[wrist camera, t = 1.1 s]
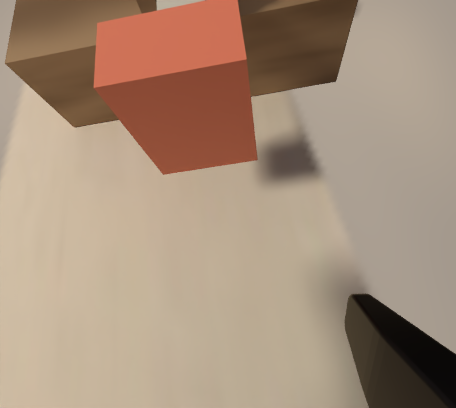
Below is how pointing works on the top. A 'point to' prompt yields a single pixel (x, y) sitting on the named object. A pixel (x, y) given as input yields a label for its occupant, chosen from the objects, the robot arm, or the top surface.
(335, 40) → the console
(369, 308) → the robot arm
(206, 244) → the top surface
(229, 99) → the red plunger
